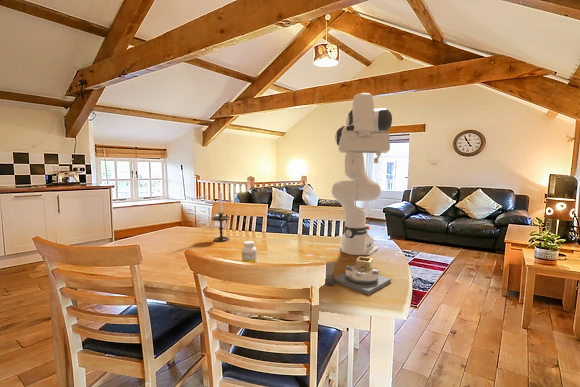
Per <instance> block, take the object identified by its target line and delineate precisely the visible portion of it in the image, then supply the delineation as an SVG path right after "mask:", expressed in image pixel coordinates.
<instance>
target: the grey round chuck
mask: <svg viewBox="0 0 580 387" xmlns="http://www.w3.org/2000/svg"><path fill="white" fill-rule="evenodd" d="M373 262H374V258H373V257H365V256H361V255H358V257H357V259H356V260H355V265H346V266H345V273H346V279H347V280H349V281H351V282H354V283H358V284H373V283H376V282H377V281H378V275H379V272H380V271H379V270H378V269H376V268H374V267H373Z"/></svg>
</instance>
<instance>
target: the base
mask: <svg viewBox="0 0 580 387" xmlns="http://www.w3.org/2000/svg"><path fill="white" fill-rule="evenodd" d="M334 283H335V284H338V285H340V286H343V287H346V288H349V289H351V290H354V291H356V292H359V293H362V294H365V295H368V296H370V295H371V294H373V293H375V292H376V291H378V290H380V289H382V288H384V287H386V286H387V285H389V284H391V283H392V278H391V277H387V276H384V275H380V274H378V281H377V282H376V283H373V284H358V283H354V282H351V281H349V280H347V279H346V272H344V273H341V274H339V275H337V276H335V277H334Z"/></svg>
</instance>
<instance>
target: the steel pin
mask: <svg viewBox="0 0 580 387" xmlns="http://www.w3.org/2000/svg"><path fill="white" fill-rule="evenodd" d="M325 263H326V265H325V266H326V267H325V276H326V277H325V285H326V286H327V287H333V286H334V272H335V267H334V266H335V263H334V262H332V261H327V262H325Z"/></svg>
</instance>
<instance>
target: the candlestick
mask: <svg viewBox="0 0 580 387" xmlns="http://www.w3.org/2000/svg"><path fill="white" fill-rule="evenodd" d="M218 188H219V191H218V211H219V212H217V214H218V216H217V215H216V216H212V217H211V221H216V222H217V221H218V222H219V227H218V230H219V236H218V237H214V238H213V241H214V242H216V243H222V242H223V243H224V242H228V241H229V239H230V238H229V237H228V236H223V234H224V231H223V230H224V227H223V221H229V220H230V218H231V217H230V216H227V215H224V214H225V213H224V212H223V192H222V190H221V186H220V185H218Z"/></svg>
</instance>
